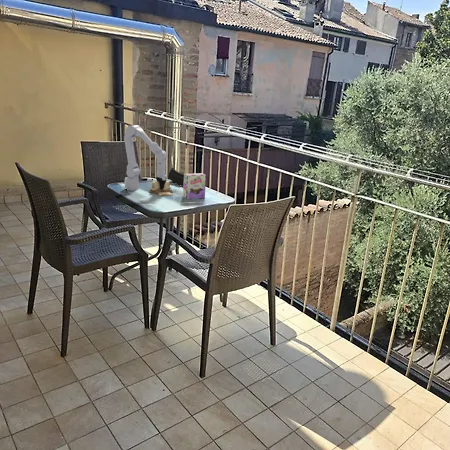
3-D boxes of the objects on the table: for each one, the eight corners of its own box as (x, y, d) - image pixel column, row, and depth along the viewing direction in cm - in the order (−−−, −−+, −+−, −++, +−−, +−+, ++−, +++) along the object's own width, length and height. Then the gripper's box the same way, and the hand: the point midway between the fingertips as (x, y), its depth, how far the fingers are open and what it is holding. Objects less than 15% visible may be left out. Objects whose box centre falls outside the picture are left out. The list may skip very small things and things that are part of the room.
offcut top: (159, 195, 273) (159, 193, 273) (158, 194, 276) (158, 192, 276) (171, 195, 276) (171, 193, 276) (169, 194, 279) (169, 192, 279)
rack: (150, 194, 278) (150, 190, 277) (148, 192, 283) (148, 189, 282) (173, 193, 285) (173, 190, 284) (170, 191, 289) (170, 188, 288)
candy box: (186, 199, 271) (186, 175, 266) (182, 197, 276) (183, 173, 271) (205, 198, 277) (206, 174, 272) (201, 196, 282) (202, 172, 277)
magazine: (195, 177, 299) (174, 159, 318) (191, 177, 297) (171, 159, 316) (190, 197, 308) (170, 179, 326) (187, 198, 306) (167, 179, 324)
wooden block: (152, 194, 280) (152, 182, 278) (151, 193, 282) (152, 181, 280) (169, 193, 285) (169, 182, 283) (168, 192, 287) (169, 181, 285)
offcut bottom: (157, 198, 273) (157, 195, 272) (156, 196, 276) (156, 194, 276) (172, 197, 277) (172, 195, 276) (170, 196, 280) (170, 193, 280)
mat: (147, 191, 286) (147, 190, 285) (144, 189, 292) (144, 188, 292) (169, 190, 292) (169, 190, 292) (166, 188, 299) (166, 187, 299)
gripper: (170, 170, 274) (169, 190, 278) (163, 167, 287) (163, 186, 291) (159, 171, 271) (159, 191, 275) (154, 167, 284) (153, 186, 288)
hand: (160, 188), depth 283 cm, fingers open, 4 cm apart
